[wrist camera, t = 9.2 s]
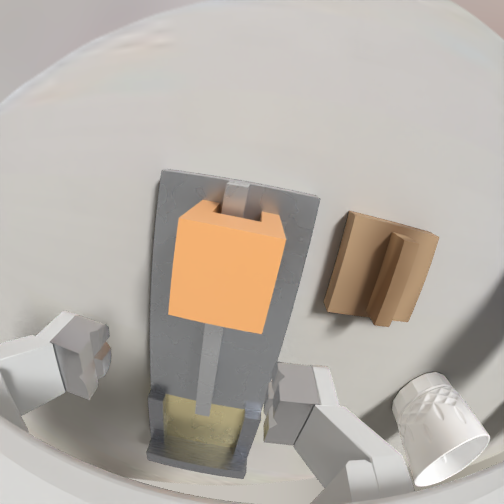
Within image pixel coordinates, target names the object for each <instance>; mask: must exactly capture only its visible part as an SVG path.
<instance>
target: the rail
mask: <svg viewBox="0 0 504 504" xmlns="http://www.w3.org/2000/svg"><path fill="white" fill-rule="evenodd" d="M202 200H207V201H213V202H218V203H220V207H219V212H218V213H220V214H225V215H230V216H235V217H240V218H245V219H250V220H255V221H260V217H261V213H262V211H263V212H267V213H272V214H277V215H279V216H280V219H281V223H282V226H283V230H284V233H285V237H286V243H285V247H284V251H283V255H282V259H281V263H280V267H279V271H278V275H277V279H276V282H275V286H274V290H273V294H272V298H271V302H270V306H269V309H268V313H267V317H266V321H265V324H264V328H263V332H262V334H258V333H252V332H247V331H241V330H236V329H231V328H226V327H221V326H217V325H212V324H207V323H203V322H198V321H194V320H189V319H185V318H181V317H176V316H172V315H168V312H169V300H170V289H171V278H172V269H173V260H174V251H175V243H176V235H177V227H178V220H179V217H181V216H182V215H183V214H185V213H186V212H187V211H188V210H190V209H191V208H192V207H194V206H195V205H196V204H198V203H199V202H200V201H202ZM319 203H320V198H319V197H317V196H316V195H312V194H307V193H302V192H298V191H293V190H288V189H283V188H278V187H273V186H268V185H263V184H258V183H252V182H247V181H241V180H236V179H230V178H224V177H218V176H212V175H206V174H199V173H192V172H186V171H179V170H171V169H167V170H162V171H161V178H160V186H159V194H158V203H157V212H156V222H155V233H154V245H153V259H152V276H151V299H150V376H151V391H150V393H149V396H148V409H149V421H150V431H151V441H150V444H149V447H148V450H147V458H148V460H150V461H153V462H157V463H161V464H165V465H169V466H173V467H177V468H181V469H186V470H191V471H196V472H201V473H206V474H212V475H218V476H225V477H232V478H240V479H243V478H244V476H245V474H246V465H247V456H248V453H249V451H250V448H251V445H252V443H253V440H254V437H255V435H256V432H257V429H258V426H259V423H260V421H261V410H262V407H263V404H264V400H265V394H266V390H267V386H268V383H269V382H271V379H272V370H273V367H274V364H275V362H276V361H277V360H278V357H279V353H280V350H281V347H282V344H283V340H284V337H285V333H286V330H287V327H288V323H289V320H290V316H291V313H292V309H293V305H294V302H295V298H296V295H297V291H298V287H299V284H300V280H301V276H302V272H303V268H304V265H305V261H306V257H307V253H308V249H309V245H310V241H311V237H312V233H313V228H314V224H315V220H316V216H317V211H318V207H319Z"/></svg>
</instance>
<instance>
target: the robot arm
mask: <svg viewBox="0 0 504 504" xmlns="http://www.w3.org/2000/svg"><path fill="white" fill-rule="evenodd" d="M109 336H110V335H109V327H108V326H107V325H106V324H104V323H101V322H98V321H95V320H92V319H89V318H86V317H83V316H81V315H77V314H74V313H72V312H69V311H62V312H61V313H60V314H59V315H58V316H57V317H56V318H55V319H53V320H52V321H51V322H50V323H49V324H48V325H47V326H46V327H45V328H44V329H43V330H42V331H41V332H40V333H38V334H37V335H36V336H34V335H29V336H25V337H22V338H18V339H14V340H11V341H7V342H3V343H0V504H250V503H241V502H231V501H224V500H217V499H211V498H205V497H199V496H194V495H189V494H184V493H180V492H175V491H171V490H167V489H163V488H159V487H155V486H152V485H148V484H145V483H142V482H138V481H135V480H132V479H129V478H126V477H123V476H120V475H117V474H114V473H112V472H109V471H106V470H104V469H101V468H99V467H96V466H94V465H91V464H89V463H86V462H84V461H82V460H80V459H77V458H75V457H73V456H71V455H69V454H67V453H65V452H63V451H60V450H58V449H56V448H55V447H53V446H51V445H49V444H47V443H45V442H43V441H41V440H40V439H38V438H36V437H34V436H33V435H31V434H29V433H28V428H27V426H26V424H25V422H24V420H23V419H22V417H21V416H22V415H24V414H26V413H28V412H30V411H32V410H33V409H35V408H37V407H39V406H41V405H43V404H45V403H47V402H49V401H51V400H52V399H54V398H56V397H58V396H60V395H62V394H64V393H65V391H67V392H69V393H72V394H74V395H77V396H80V397H82V398H85V399H88V400H90V399H91V397H92V395H93V394H94V392H95V391H96V389H97V387H98V380H97V379H99V378H102V377H104V376H105V375H106V373H107V371H108V369H109V366H110V363H111V348H110V346H109V345H108V343H107V342H106V341H107V339H108V338H109ZM264 414H265V415H266V419H265V422H264V442H267V443H276V444H286V445H294V446H293V447H294V448H295V450H296V451H297V452H298V454H299V455H300V456H301V458H302V459H303V461H304V462H305V463H306V465H307V466H308V467H309V469H310V470H311V471H312V473H313V474H314V475H315V477H316V478H317V479H318V480H319V482H320V483H321V484H322V486H323V487H324V488H325V489H324V490H323V491H322V492H321V493H320V494H319V495H318V496H317V497H316V498H315V499H314V500H313V501H312V502H311V503H310V504H504V461H502V462H500V463H497V464H495V465H493V466H491V467H488V468H486V469H483V470H481V471H478V472H476V473H473V474H470V475H468V476H465V477H463V478H459V479H456V480H453V481H450V482H447V483H444V484H441V485H438V486H434V487H431V488H427V489H423V490H419V491H415V490H414V487H413V484H412V481H411V478H410V475H409V472H408V469H407V466H406V464H405V461H404V458H403V455H402V454H401V453H400V452H398V451H397V450H396V449H395V448H393V447H392V446H391V445H390V444H389V443H387V442H386V441H385V440H384V439H383V438H381V437H380V436H379V435H378V434H377V433H375V432H374V431H373V430H372V429H371V428H369V427H368V426H367V425H366V424H365V423H364V422H362V421H361V420H360V419H359V418H358V417H357V416H355V415H354V414H353V413H352V412H351V411H350V410H349V409H347V408H346V407H345V406H340V404H339V401H338V397H337V393H336V390H335V386H334V383H333V379H332V376H331V372H330V369H329V368H328V367H327V366H317V365H301V364H293V363H284V362H277V361H276V362H275V364H274V367H273V370H272V381H271V382H269V383H268V386H267V390H266V394H265V400H264ZM251 504H252V503H251Z"/></svg>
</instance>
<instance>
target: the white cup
mask: <svg viewBox="0 0 504 504" xmlns="http://www.w3.org/2000/svg"><path fill="white" fill-rule="evenodd" d="M392 411H393V414H394V416H395V419H396V422H397V425H398V430H399V434H400V437H401V440H402V445H403V448H404V451H405V454H406V457H407V461H408V464H409V467H410V471H411V474H412V478H413V481H414V484H415V485H416V486H419V487H423V486H429V485H433V484H435V483H438V482H441V481H443V480H445V479H447V478H449V477H451V476H453V475H455V474H456V473H458V472H459V471H461V470H462V469H464V468H465V467H467V466H468V465H469V464H470V463H472V462H473V461H474V460H475V459H476V458H477V457H478V456H479V455H480V454H481V453H482V452H483V451H484V450H485V448H486V447H487V445H488V443H489V441H490V436H489V434H488V433H487V431H486V430H485V428H484V427H483V425H482V424H481V422H480V421H479V420H478V418H477V417H476V415H475V414H474V412H473V411H472V410H471V408H470V407H469V406H468V404H467V403H466V402H465V401H464V400H463V398H462V397H461V395H460V394H459V393H458V392H457V391H456V390H455V389H454V388H453V387H452V385H451V384H450V382H449V381H448V380H447V378H446V377H445V376H444V375H443V374H440V373H437V372H432V373H427V374H423V375H421V376H419V377H417V378H415V379H413V380H411V381H410V382H409V383H408V384H407V385H406V386H404V387H403V388H402V389H401V390H400V391H399V393H398V394H397V396H396V397H395V399H394V400H393V406H392Z"/></svg>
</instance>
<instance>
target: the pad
mask: <svg viewBox="0 0 504 504" xmlns="http://www.w3.org/2000/svg"><path fill="white" fill-rule="evenodd" d="M438 240H439V237H438V236H436V235H434V234H432V233H431V232H428V231H425V230H421V229H418V228H414V227H410V226H407V225H403V224H399V223H396V222H392V221H388V220H384V219H380V218H377V217H373V216H369V215H365V214H361V213H357V212H352V211H349V213H348V217H347V221H346V225H345V229H344V233H343V237H342V240H341V244H340V248H339V251H338V255H337V259H336V262H335V266H334V269H333V272H332V276H331V279H330V283H329V286H328V289H327V292H326V296H325V299H324V304H325V307H326V310H327V312H333V313H340V314H347V315H354V316H362V317H369V318H370V319H371V320H372V322H373V324H374V325H377V326H385V327H389V326H390V324H391V322H392V320H394V321H402V322H408V321H409V319H410V317H411V314H412V312H413V310H414V307H415V305H416V302H417V300H418V297H419V295H420V292H421V290H422V287H423V284H424V282H425V279H426V276H427V273H428V271H429V268H430V265H431V262H432V259H433V256H434V253H435V250H436V246H437V243H438Z"/></svg>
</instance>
